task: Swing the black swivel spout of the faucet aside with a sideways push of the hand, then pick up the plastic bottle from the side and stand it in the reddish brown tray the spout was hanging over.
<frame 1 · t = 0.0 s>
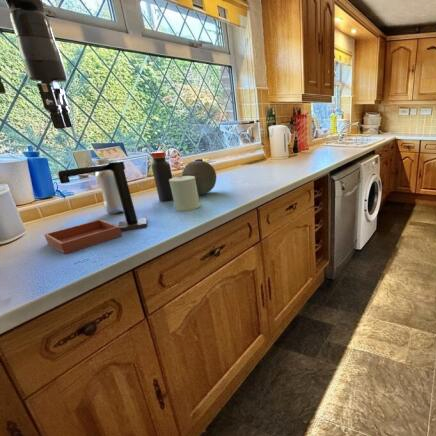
hand: (64, 127, 80), 32 cm above the countertop, tool pointing down, fingers open, 8 cm apart
vinegar: (168, 199, 130), on the countertop
faucet base: (133, 226, 100), on the countertop
spout: (93, 171, 88), point 19 cm above the countertop, hinge at 0.0°
plastic bottle: (117, 213, 114), on the countertop
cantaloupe: (202, 195, 135), on the countertop
can: (188, 207, 118), on the countertop
reddish brown tray: (85, 239, 90), on the countertop
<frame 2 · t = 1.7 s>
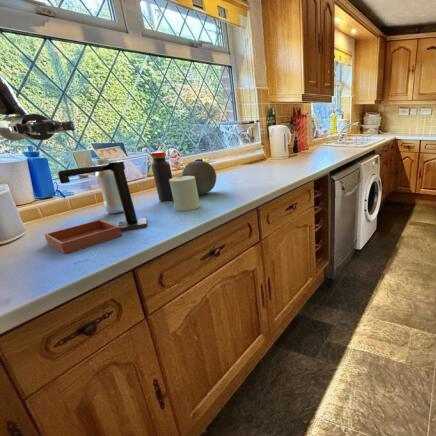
hand: (53, 127, 83), 32 cm above the countertop, tool horizontal, fingers open, 6 cm apart
nothing on the countertop moved.
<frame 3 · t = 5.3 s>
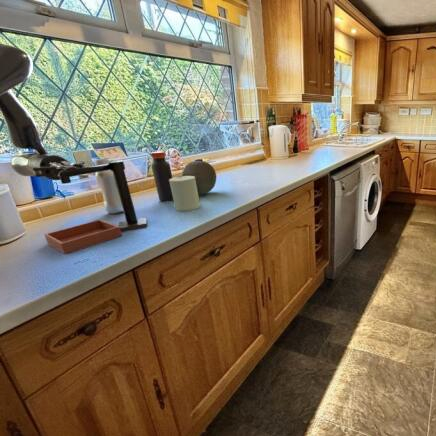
hand: (72, 170, 84), 20 cm above the countertop, tool horizontal, fingers closed
spout: (94, 171, 88), point 19 cm above the countertop, hinge at 3.1°, touching gripper
everything else where it was.
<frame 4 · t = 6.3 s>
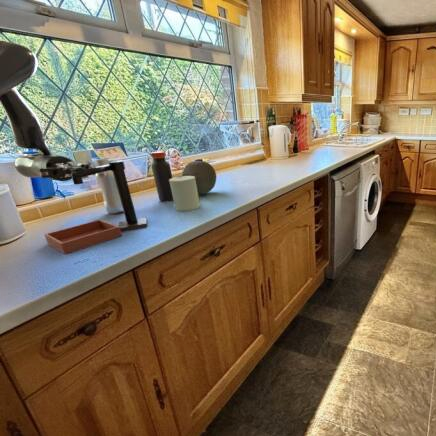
hand: (80, 171, 83), 20 cm above the countertop, tool horizontal, fingers closed
spout: (99, 171, 87), point 19 cm above the countertop, hinge at 24.4°, touching gripper
everything else where it was.
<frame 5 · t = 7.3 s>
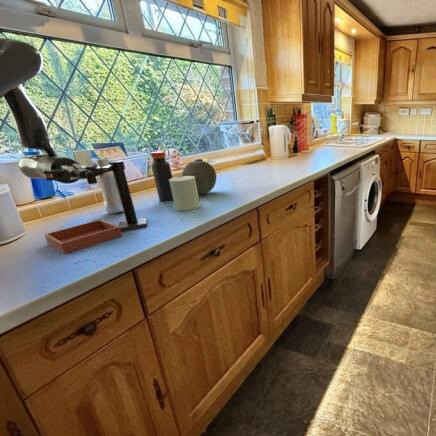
hand: (86, 174, 80), 20 cm above the countertop, tool horizontal, fingers closed
spout: (106, 171, 87), point 19 cm above the countertop, hinge at 40.8°, touching gripper
everything else where it was.
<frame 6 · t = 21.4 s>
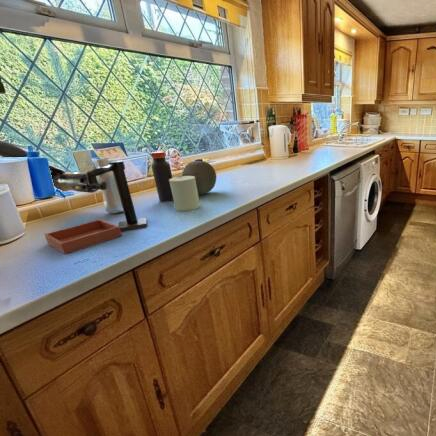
hand: (113, 184, 110), 11 cm above the countertop, tool horizontal, fingers closed on plastic bottle, 6 cm apart
spout: (106, 171, 87), point 19 cm above the countertop, hinge at 41.3°
plastic bottle: (117, 213, 114), on the countertop, touching gripper
everything else where it was.
when the fingers open (12 cm above the countertop, at t = 35.4 s): plastic bottle stays where it is, resting on reddish brown tray.
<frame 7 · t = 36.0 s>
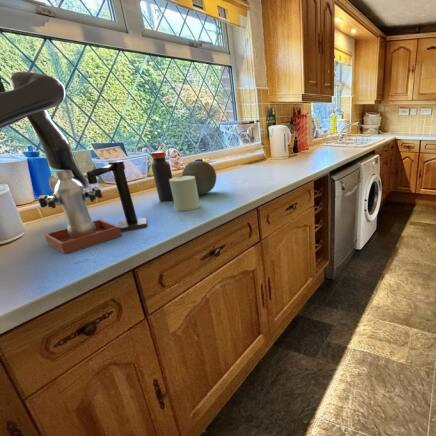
hand: (72, 201, 84), 12 cm above the countertop, tool horizontal, fingers open, 8 cm apart
plastic bottle: (85, 238, 90), resting on reddish brown tray
everything else where it was.
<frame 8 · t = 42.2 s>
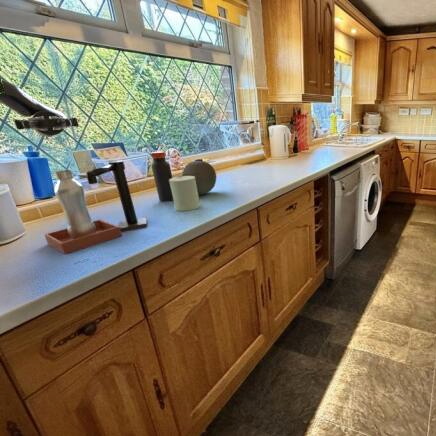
hand: (47, 123, 86), 33 cm above the countertop, tool horizontal, fingers open, 8 cm apart
nothing on the countertop moved.
at the end: spout at +41° (first picture: +0°); plastic bottle inside the target area in the reddish brown tray (0.1 cm from its centre), point 0.4 cm above the reddish brown tray's base; plastic bottle tilted 0° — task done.
